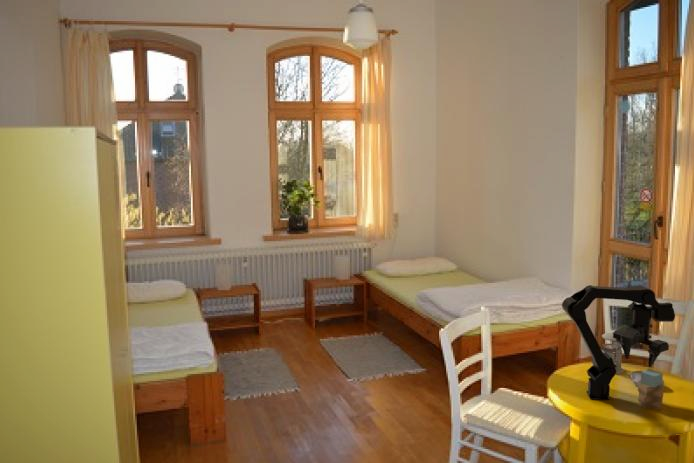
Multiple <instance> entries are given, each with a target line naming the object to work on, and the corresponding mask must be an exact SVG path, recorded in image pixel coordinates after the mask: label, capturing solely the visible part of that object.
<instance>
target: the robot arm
mask: <svg viewBox="0 0 694 463" xmlns="http://www.w3.org/2000/svg"><path fill="white" fill-rule="evenodd" d="M596 299H606V300H622V301H631V303H630V304H628V305H627V307H628V308H629V309H630V310H632V311H633V316H632V322H631V323H629V328H627V329H625V328H619V329H615V330H614V331H613V332H612V333H613V338H615V339H616V341H615V342H618V344H620V346H621V347H622V348H621V349H622V352H623V354H624V357H625V359H626V360H628V359H629V358H630V354H631V350H632V349H631V348H632V347H633V346H635V345H636V344H643V345H646V346H648V350H647V352H648V354H649V355H648V368H651V367H652V366H653V365H654V363H655V361H656V360H657V358H659V356H660V354H661V353H664V352H666V351H669V350H670V345H669V342H667V341H665V340H661V339H655V340H651V339H652V335H651V334H650V333H651V328H653V324H651V320H652V319H653V322H656V323H658V322H659V323H663V322H664V323H666V322H667V323H673V322H674V321H675V317H676V313H675V310H674V308H673V307H674V306H673V304H672V302H658V300H657V299H656V294H655V292H654V290H652V289H650V288H648V287H647V286H645V285H642V284H641V285H632V286H628V287H614V286H600V285H597V286H596V285H591V284H589V285H586V286H585V287H584V288H582V289H581V290H578V291H577V292H575V293H573V294H572V295H571V296H570V297H566V298H564V300H563V301H562V304H561V308H562V309H563V311H564V313H565V314H566V315H567V316H568V317H569V318H570V319H571V321H572V322H573V323H574V325H575V327H576V328H577V330H578V332H579V335H580V336H581V338H582V339H583V340H582V341H583V342H584V344H585V346H586V347H587V349H588V352H589V353H590V357H591V362H592V365H591V366H590V367H589V368H587V370H586V372H587V373H586V374H587V376H588V384H587V390H586V394H587V395H588V398H589V399H590V400H601V401H602V400H604V401H610V398H609V397H610V390H611V388H610V387H611V386H610V384H611V382H612V380H613V378H614V377H615V376H616V375H617V374H616V369H615V367H617V366H615V364H616V363H615V362H614V363H615V364H614V363H613V359H612V357H610V356H609V355H608V354H607V353H606V352H604V353H603V352H602V348H601V346H600V344H599V342H598V340H597V338H596V337H595V334H594V333H593V331H592V329H591V327H590V324H589V322H588V320H587V313H586V310H587V309H588V308H590V306H591V304H592V303H593V301H594V300H596Z"/></svg>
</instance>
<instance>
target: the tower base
mask: <svg viewBox="0 0 694 463" xmlns="http://www.w3.org/2000/svg"><path fill="white" fill-rule="evenodd" d="M663 399H664V397H663V398H646V397H644V396H643V395H642V394H641V393H640V392H639V391H638V399H637V400H638V403H639V404H640V405H641V406H642V408H644V409H657V410H658V409H659V410H662V409H663Z"/></svg>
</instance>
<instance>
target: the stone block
mask: <svg viewBox="0 0 694 463" xmlns="http://www.w3.org/2000/svg"><path fill="white" fill-rule="evenodd" d="M643 371H644V370H636V371H635V370H634V371H632V372H630V373H629V377H630V378H631V380H632V382H633V383H634V386H635V387H637V388H638V381H639V380H641V372H643ZM661 385H662V386H664V387H665V382H664V379H663V378H662V384H661Z"/></svg>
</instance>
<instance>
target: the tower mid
mask: <svg viewBox="0 0 694 463" xmlns="http://www.w3.org/2000/svg"><path fill="white" fill-rule="evenodd" d="M640 382H641V380H639V381H638V387H637V392H638V393H639V392H640V393H641V394H642V395H643V396H644V397H646V398H663V399H664V390H665V389H664V388H665V385H664V386H662V385H659V386H657V387H651V386H648V385H645V384H642V383H640Z"/></svg>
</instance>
